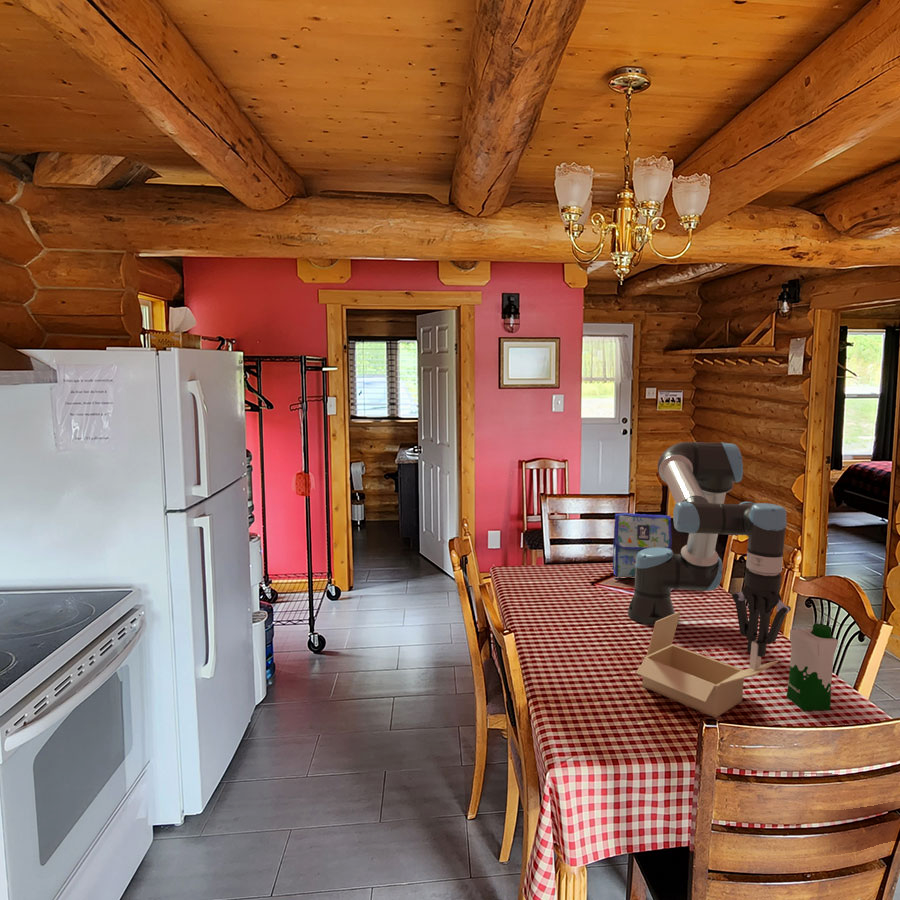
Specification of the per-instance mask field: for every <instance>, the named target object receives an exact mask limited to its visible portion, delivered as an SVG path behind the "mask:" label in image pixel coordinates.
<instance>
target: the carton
mask: <svg viewBox="0 0 900 900" xmlns="http://www.w3.org/2000/svg"><path fill="white" fill-rule="evenodd" d="M742 670H744V669H742V668H741V667H737V666H734V665H732V664H729V663H726V662H724V661H720V660H717V659H715V658H712V657H709V656H707V655H704V654H702V653H699V652H696V651H692V650H690V649H687V648H684V647H682V646H679V645H676V644H672V645H669V646H667V647H665V648H663V649H661V650H659V651H656V652H654V653H652V654H650V655H646V656H644V657H643V661H642V663H641V664H640V666H639V667H638V668H637V670H636V672H635V674H637V675H638V676H640V677H642V683H641V684H642V688H644V689H647V690H650V691H651V692H652V691H653V692H655V693H657V694H658V695H661V696H664V697H666V698H668V699H670V700H672V701H674V702H677V703H680V704H682V705H684V706H686V707H689V708H690V709H693V710H696V711H698V712H700V713H702V714H704V715H707V716H710V717H712V718H713V719H717V718H718V717H720V716H721V715H723V714H724V713H726V712H728V711H729V710H731V709H732V708H734V707H735V706H737V705H738V704H740V703H741V702H743V695H744V681H745V678H743V679H740V680H736V681H733V682H729V683H725V684H722V685H720V683H722V682H723V681H725V680H727V679H729V678H730V677H732V676H734V675H735V674H737V673H739V672H741V671H742Z"/></svg>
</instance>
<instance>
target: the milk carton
mask: <svg viewBox="0 0 900 900" xmlns="http://www.w3.org/2000/svg"><path fill="white" fill-rule="evenodd" d="M789 636H790V661H789V673H788V675H789V676H788V684H787V693H786V698H787V699H788V700H789V701H791V702H792V703H793V704H795V706H797V707H798V708H799V709H801V710H802V711H803V712H804V711H805V712H808V711H811V712H812V711H831V710H832V709H831V708H832V707H831V704H832V701H831V700H832V681H833V668H834V656H835V653H836V650H837V647H838V644H839V639H836V638H835V637H834V636H833V635H832V627H831V626H829V625H827V624H824V623H823V624H822V623H814V624H812V628H799V629H789Z"/></svg>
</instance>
